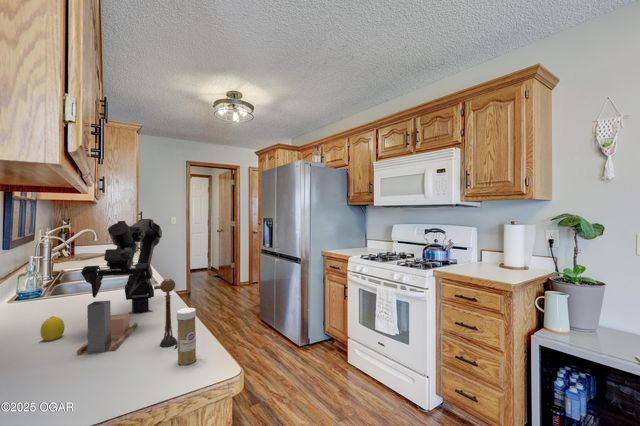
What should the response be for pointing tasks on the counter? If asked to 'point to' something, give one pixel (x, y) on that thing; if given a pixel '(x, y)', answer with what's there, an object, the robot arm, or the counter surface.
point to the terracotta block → (119, 324)
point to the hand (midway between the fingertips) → (111, 295)
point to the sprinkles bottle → (186, 336)
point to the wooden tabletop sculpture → (167, 314)
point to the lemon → (52, 328)
